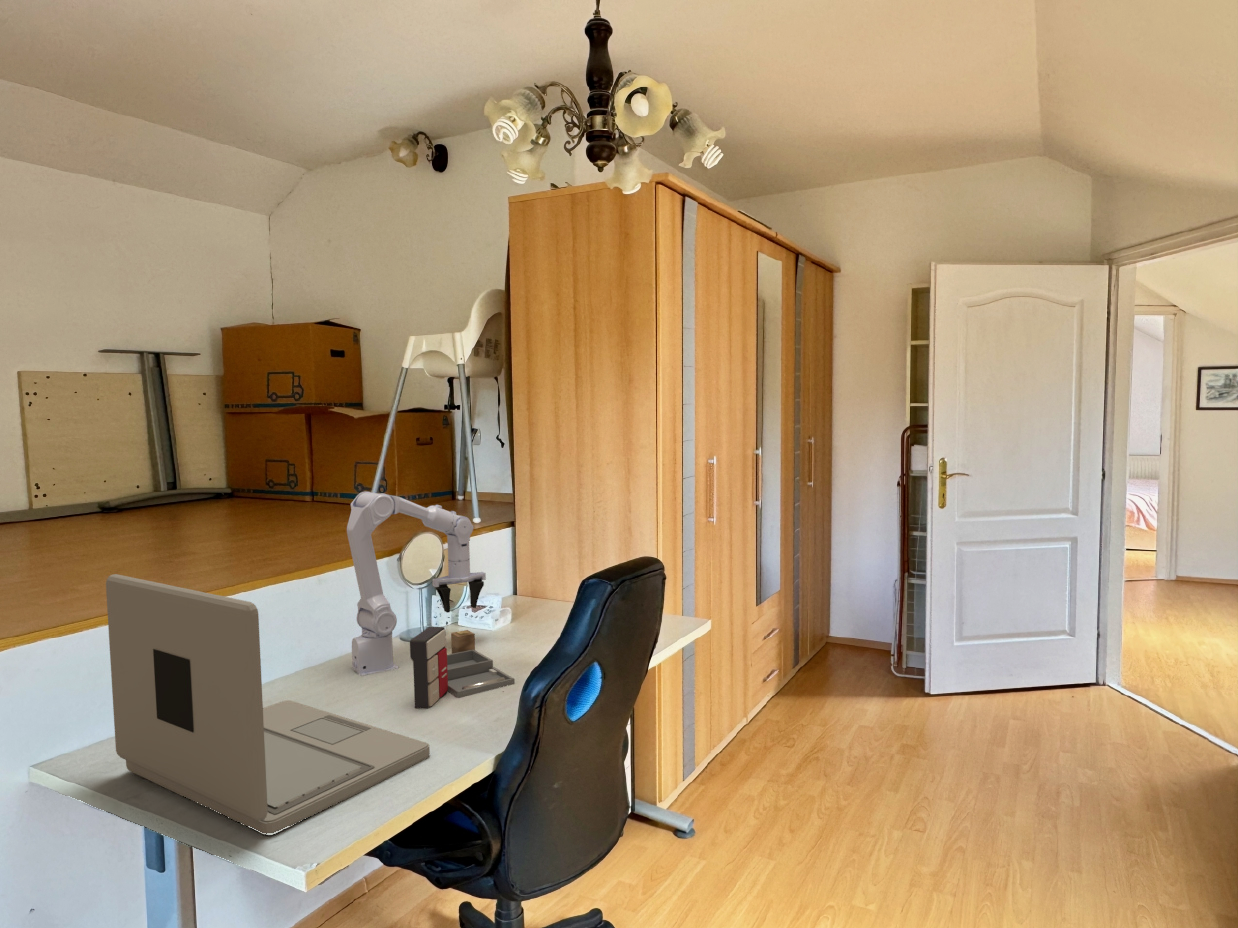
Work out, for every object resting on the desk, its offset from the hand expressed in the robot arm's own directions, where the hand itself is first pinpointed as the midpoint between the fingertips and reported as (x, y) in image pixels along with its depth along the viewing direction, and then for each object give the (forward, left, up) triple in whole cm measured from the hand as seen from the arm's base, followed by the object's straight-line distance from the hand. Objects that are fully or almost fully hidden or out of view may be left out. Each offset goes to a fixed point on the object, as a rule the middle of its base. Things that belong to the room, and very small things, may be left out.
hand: (460, 609), depth 213 cm
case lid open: (-10, -31, -10) cm, 34 cm away
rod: (-10, -36, -9) cm, 38 cm away
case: (-10, -20, -10) cm, 24 cm away
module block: (-4, -10, -10) cm, 15 cm away
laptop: (-57, -48, -10) cm, 75 cm away
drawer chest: (-22, -34, -10) cm, 42 cm away
